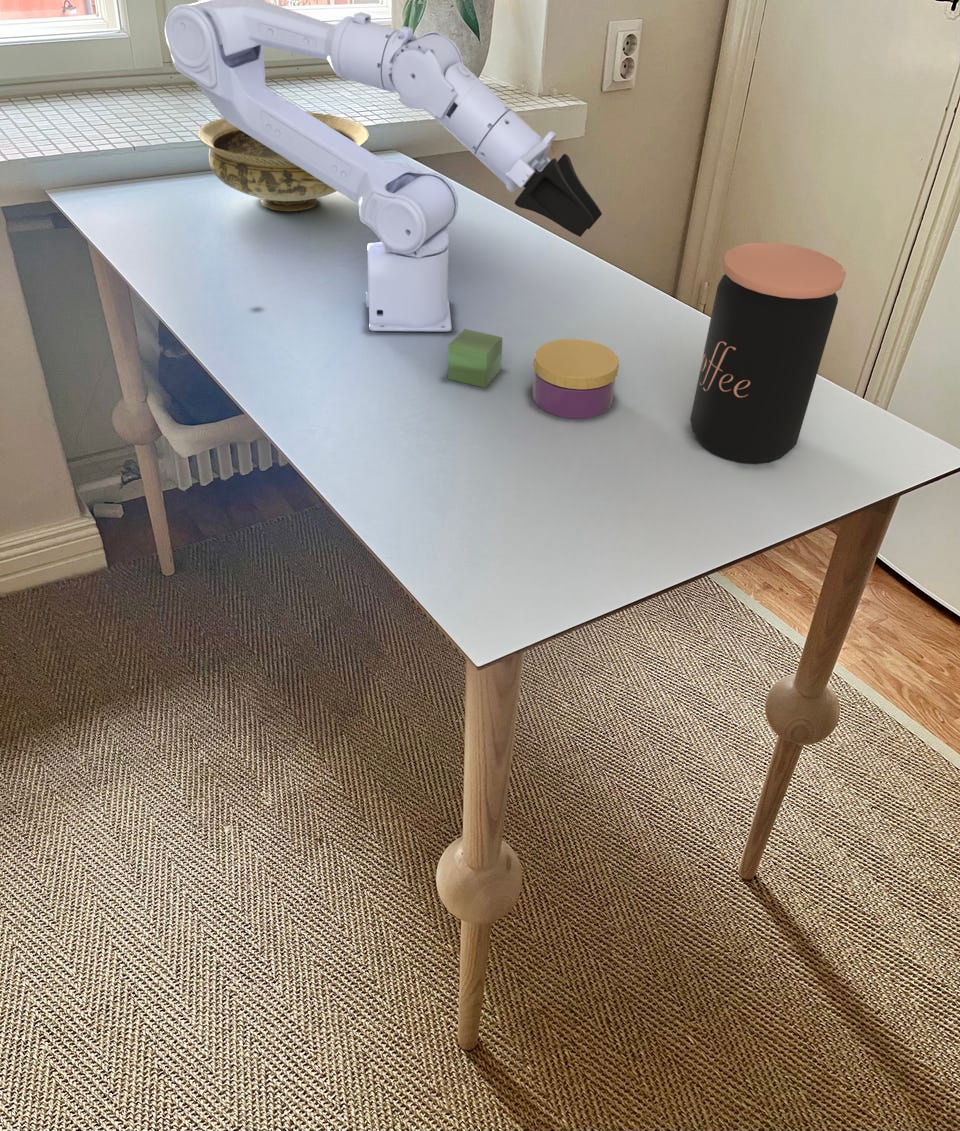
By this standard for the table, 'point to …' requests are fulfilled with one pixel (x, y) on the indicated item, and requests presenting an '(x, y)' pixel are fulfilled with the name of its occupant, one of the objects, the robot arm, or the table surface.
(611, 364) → the lid
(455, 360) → the block
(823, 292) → the coffee jar
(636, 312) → the table surface
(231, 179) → the ceramic bowl
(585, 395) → the jar
